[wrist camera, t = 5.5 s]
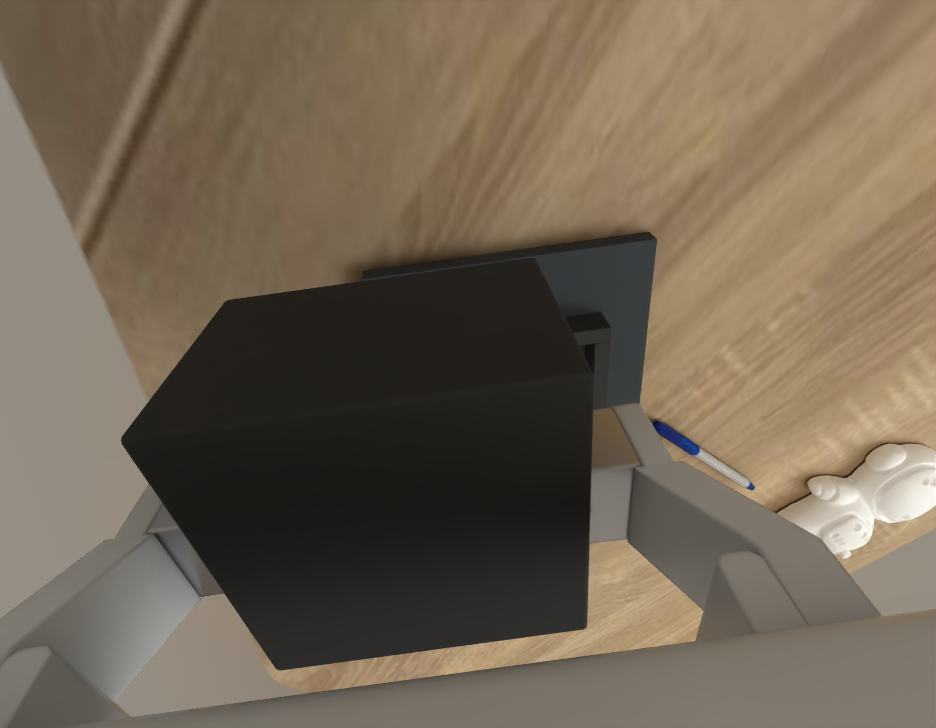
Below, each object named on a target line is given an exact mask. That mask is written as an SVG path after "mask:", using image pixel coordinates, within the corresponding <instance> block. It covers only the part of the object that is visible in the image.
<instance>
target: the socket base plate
mask: <svg viewBox="0 0 936 728" xmlns="http://www.w3.org/2000/svg"><path fill="white" fill-rule="evenodd" d="M656 243H657V239H656V238H655V237H654V236H653V235H652V234H651V233H649V232H647V233H639V234H632V235H625V236H618V237H610V238H603V239H596V240H588V241H581V242H574V243H567V244H559V245H552V246H545V247H538V248H530V249H523V250H516V251H508V252H501V253H494V254H487V255H479V256H472V257H465V258H458V259H450V260H443V261H436V262H428V263H421V264H414V265H407V266H399V267H392V268H385V269H377V270H370V271H364V272H363V275H362V279H361V281H368V280H375V279H382V278H389V277H396V276H404V275H411V274H418V273H425V272H432V271H439V270H446V269H454V268H461V267H468V266H475V265H482V264H489V263H496V262H504V261H511V260H518V259H525V258H536V260H537V262H538V264H539V266H540V268H541V270H542V272H543V274H544V276H545V278H546V280H547V282H548V284H549V286H550V288H551V290H552V292H553V294H554V296H555V298H556V300H557V302H558V304H559V306H560V308H561V310H562V312H563V314H564V316H565V318H566V320H567V322H568V324H569V326H570V328H571V330H572V332H573V334H574V336H575V338H576V340H577V342H578V344H579V346H580V348H581V350H582V352H583V354H584V356H585V358H586V360H587V362H588V364H589V366H590V368H591V370H592V372H593V374H594V400H593V409H600V408H607V407H609V408H610V406H617V405H623V404H629V403H638V404H639V403H640V393H641V384H642V374H643V365H644V356H645V346H646V337H647V328H648V318H649V309H650V299H651V290H652V281H653V271H654V262H655V252H656Z"/></svg>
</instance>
